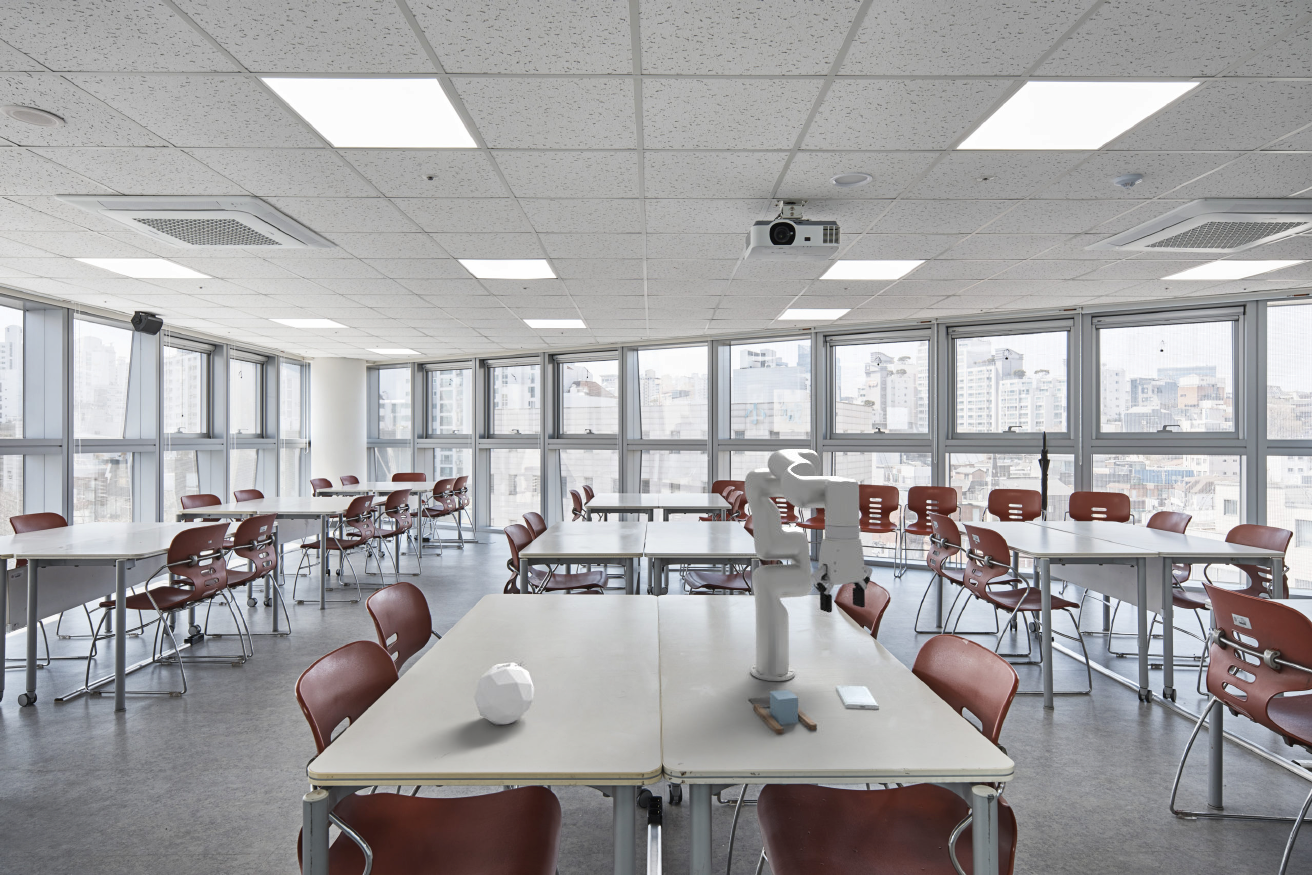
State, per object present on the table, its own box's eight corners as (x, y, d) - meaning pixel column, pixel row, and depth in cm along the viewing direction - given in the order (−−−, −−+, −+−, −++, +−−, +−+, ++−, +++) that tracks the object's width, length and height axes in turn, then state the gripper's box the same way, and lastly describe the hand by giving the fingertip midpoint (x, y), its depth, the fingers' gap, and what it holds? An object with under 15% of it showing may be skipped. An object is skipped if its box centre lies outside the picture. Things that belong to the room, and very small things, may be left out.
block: (770, 716, 151) (769, 691, 151) (788, 714, 152) (788, 689, 152) (778, 724, 146) (778, 699, 146) (798, 722, 147) (797, 697, 147)
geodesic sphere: (522, 676, 161) (494, 640, 155) (558, 689, 152) (531, 652, 146) (483, 727, 152) (452, 691, 145) (519, 744, 143) (488, 706, 136)
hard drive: (835, 685, 168) (845, 703, 156) (866, 686, 167) (879, 704, 155) (835, 691, 168) (845, 710, 155) (866, 692, 167) (879, 711, 155)
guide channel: (744, 700, 160) (744, 695, 160) (780, 696, 163) (780, 691, 163) (777, 733, 141) (777, 728, 141) (816, 729, 143) (816, 724, 143)
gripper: (858, 529, 147) (859, 600, 146) (801, 533, 139) (801, 609, 139) (882, 532, 140) (883, 608, 140) (823, 537, 132) (824, 617, 132)
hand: (842, 608), depth 139 cm, fingers open, 9 cm apart
